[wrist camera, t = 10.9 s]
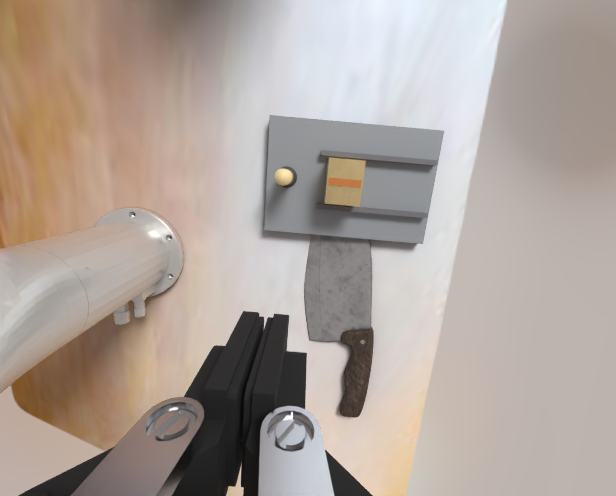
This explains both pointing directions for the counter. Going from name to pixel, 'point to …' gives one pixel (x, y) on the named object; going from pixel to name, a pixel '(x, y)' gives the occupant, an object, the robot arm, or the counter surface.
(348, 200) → the cardboard box
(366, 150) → the bolt plate
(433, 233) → the counter surface
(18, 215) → the counter surface
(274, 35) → the counter surface
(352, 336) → the cleaver
